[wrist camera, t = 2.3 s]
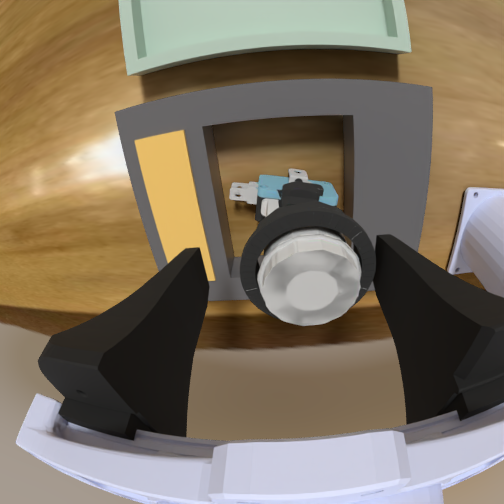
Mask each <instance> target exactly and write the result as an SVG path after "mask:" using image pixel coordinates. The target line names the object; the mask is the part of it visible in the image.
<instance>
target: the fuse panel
mask: <svg viewBox="0 0 504 504" xmlns="http://www.w3.org/2000/svg"><path fill="white" fill-rule="evenodd" d="M315 115H343V134H344V214H346V215H347V216H349V217H351V218H352V219H353V220H355V221H356V222H357V223H358V224H359V225H360V226H361V227H362V228H363V229H364V230H365V232H366V233H367V235H368V237H369V239H370V240H371V242H372V245H373V247H374V250H375V245H376V236H377V235H384V234H391V235H393V236H394V237H396V238H398V239H399V240H401V241H402V242H404V243H405V244H407V245H408V246H409V247H411V248H412V249H414V250H415V251H417V252H418V247H419V242H420V237H421V232H422V226H423V220H424V214H425V207H426V200H427V193H428V184H429V175H430V164H431V150H432V127H433V95H432V87H428V86H422V85H415V84H407V83H398V82H388V81H376V80H360V79H297V80H279V81H267V82H256V83H247V84H239V85H232V86H225V87H218V88H212V89H206V90H201V91H195V92H190V93H185V94H181V95H176V96H172V97H167V98H163V99H159V100H155V101H151V102H147V103H144V104H140V105H136V106H133V107H129V108H126V109H123V110H120V111H116V112H115V116H116V121H117V126H118V130H119V135H120V139H121V144H122V148H123V152H124V156H125V160H126V164H127V168H128V172H129V176H130V180H131V184H132V187H133V191H134V194H135V198H136V201H137V205H138V208H139V212H140V215H141V218H142V222H143V225H144V228H145V231H146V234H147V237H148V241H149V244H150V247H151V250H152V253H153V256H154V258H155V261H156V264H157V267H158V270H159V271H160V270H161V269H163V268H164V267H165V266H166V265H167V264H168V263H169V262H170V261H171V260H172V259H174V258H175V257H176V256H177V255H178V254H179V253H180V252H181V251H183V250H184V249H185V248H195V247H200V250H201V254H202V258H203V262H204V266H205V270H206V274H207V278H208V282H209V286H210V288H209V296H208V301H222V300H247V299H249V298H248V296H247V295H246V293H245V291H244V289H243V287H242V284H241V280H240V262H241V257H234V252H233V247H232V241H231V235H230V230H229V224H228V218H227V213H226V207H225V201H224V195H223V189H222V183H221V178H220V172H219V166H218V159H217V153H216V147H215V141H214V135H213V129H212V125H215V124H222V123H230V122H238V121H246V120H256V119H266V118H278V117H293V116H315ZM343 236H344V238H345V240H346V242H347V244H348V246H349V247H350V248H351V249H352V250H353V242H352V241H351V240H350V239H349V238H348V237H346V236H345V235H343ZM263 259H264V255H262V256H259V258H258V262H259V265H260V267H261V263H262V261H263ZM373 290H375V288H374V284H373V281H372V283H371V285H370V287H369V289H368V290H367V291H373Z"/></svg>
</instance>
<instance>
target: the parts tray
mask: <svg viewBox="0 0 504 504" xmlns="http://www.w3.org/2000/svg"><path fill="white" fill-rule="evenodd" d="M119 11H120V21H121V31H122V39H123V47H124V55H125V62H126V68H127V75H144V74H148V73H151V72H155V71H158V70H162V69H166V68H170V67H174V66H178V65H183V64H187V63H192V62H196V61H201V60H207V59H212V58H218V57H224V56H231V55H238V54H246V53H254V52H264V51H277V50H295V49H343V50H361V51H373V52H383V53H391V54H403V53H410V52H411V43H410V35H409V28H408V21H407V15H406V9H405V4H404V0H119Z"/></svg>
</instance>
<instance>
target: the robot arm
mask: <svg viewBox="0 0 504 504" xmlns="http://www.w3.org/2000/svg"><path fill="white" fill-rule="evenodd" d="M475 192H476V193H475ZM474 193H475V195H474ZM375 254H376V270H375V275H374V278H373V284H374V288H375V292H376V295H377V298H378V301H379V303H380V306H381V308H382V311H383V313H384V316H385V318H386V321H387V323H388V326H389V328H390V331H391V334H392V336H393V339H394V343H395V346H396V350H397V354H398V359H399V364H400V368H401V374H402V381H403V387H404V395H405V405H406V421H407V425H403V426H399V427H395V428H390V429H389V428H386V429H376V430H366V431H360V432H353V433H347V434H339V435H331V436H320V437H308V438H292V439H251V440H233V441H220V440H207V439H196V438H187V437H186V431H187V429H186V428H187V409H188V396H189V385H190V377H191V370H192V363H193V356H194V352H195V348H196V345H197V341H198V337H199V334H200V330H201V327H202V323H203V319H204V316H205V312H206V308H207V303H208V296H209V288H210V286H209V282H208V278H207V274H206V270H205V266H204V262H203V258H202V254H201V250H200V247H195V248H185V249H184V250H183V251H181V252H180V253H179V254H178V255H177V256H176V257H175V258H174V259H172V260H171V261H170V262H169V263H168V264H167V265H166V266H165V267H164V268H163V269H161V270H160V271H159V272H158V273H157V274H156V275H155V276H154V277H152V278H151V279H150V280H149V281H148V282H146V283H145V284H144V285H143V286H142V287H140V288H139V289H138V290H137V291H135V292H134V293H133V294H131V295H130V296H129V297H127V298H126V299H124V300H123V301H121V302H120V303H118V304H117V305H115V306H113V307H112V308H110V309H108V310H107V311H105V312H103V313H102V314H100V315H98V316H96V317H94V318H93V319H91V320H89V321H86V322H84V323H82V324H80V325H78V326H76V327H73V328H71V329H68V330H66V331H63V332H60V333H58V334H55V335H52V337H51V338H50V340H49V342H48V343H47V345H46V347H45V349H44V350H43V352H42V354H41V356H40V357H39V360H38V364H39V367H40V370H41V371H42V373H43V374H44V376H45V377H46V378H47V379H48V380H49V381H50V382H51V383H52V384H53V385H54V387H55V388H56V389H57V390H58V391H59V392H60V393H61V394H62V395H63V396H64V397H65V399H64V401H63V403H61V402H59V401H57V400H55V399H53V398H50V397H47V396H44V395H42V394H36V396H35V398H34V400H33V403H32V404H31V407H30V409H29V411H28V413H27V415H26V418H25V420H24V422H23V425H22V427H21V429H20V432H19V434H18V437H17V439H16V444H17V445H18V446H20V447H21V448H23V449H24V450H26V451H27V452H29V453H30V454H32V455H33V456H35V457H36V458H38V459H40V460H41V461H43V462H44V463H46V464H48V465H50V466H51V467H53V468H55V469H57V470H59V471H61V472H63V473H65V474H67V475H69V476H71V477H73V478H76V479H78V480H80V481H82V482H85V483H87V484H90V485H92V486H94V487H97V488H99V489H102V490H105V491H107V492H110V493H113V494H116V495H118V496H121V497H124V498H127V499H131V500H134V501H137V502H141V503H144V504H444V501H443V494H442V489H445V488H447V487H450V486H452V485H455V484H457V483H459V482H461V481H464V480H466V479H468V478H470V477H472V476H474V475H476V474H478V473H480V472H482V471H484V470H486V469H488V468H490V467H491V466H493V465H495V464H497V463H499V462H500V461H502V460H504V189H496V188H478V187H469V188H467V189H466V191H465V194H464V200H463V206H462V211H461V216H460V221H459V225H458V230H457V234H456V238H455V242H454V246H453V250H452V254H451V257H450V261H449V264H448V268H447V271H445V270H444V269H442V268H440V267H439V266H437V265H436V264H434V263H433V262H431V261H430V260H428V259H427V258H425V257H424V256H422V255H421V254H419V253H418V252H417V251H415V250H414V249H412V248H411V247H409V246H408V245H407V244H405V243H404V242H402V241H401V240H399V239H398V238H396V237H394V236H393V235H391V234H384V235H377V236H376V245H375ZM456 268H457V269H456ZM469 272H473V273H474V274H475V275H476V277H477V278H478V279H479V281H480V282H481V283H482V285H483V286H484V288H485V289H486V290H487V291H485V290H482V289H480V288H478V287H476V286H473V285H471V284H469V283H467V282H465V281H463V280H461V279H459V278H458V277H456V276H454V274H461V273H469Z"/></svg>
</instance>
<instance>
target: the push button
mask: <svg viewBox="0 0 504 504" xmlns="http://www.w3.org/2000/svg"><path fill="white" fill-rule="evenodd" d="M288 171H289V175H290V177H280V176H271V175H260V176H259V182H249V184H246V183H234V182H233V183H232V187H231V188H230V199H231V200H240V201H247V203H248V204H256V214H255V220H256V221H259V222H260V223H259V224H258V227H257V229H256V231H255V232H254V233H253V234H252V235H251V237H250V238H249V240H248V241H247V243H246V245H245V247H244V250H243V253H242V256H241V262H240V280H241V284H242V287H243V289H244V291H245V293H246V295H247V296H248V298H249V299H250V301H251V302H252V303H253V304H254V305H255V306H256V307H258V308H259V309H260V310H262V311H263V312H265V313H266V314H268V315H270V316H272V317H274V318H277V319H280V320H283V321H284V322H288V323H293V324H297V325H301V326H307V325H318V324H324V323H327V322H329V321H331V320H333V319H335V318H338V317H340V316H341V315H343V314H344V313H346V312H347V310H348V309H350V308H351V307H352V306H354V305H355V304H356V303H357V302H358V301H359V300H360V299H361V298H362V297H363V296H364V295H365V293H366V292H367V290H368V289H369V287H370V285H371V283H372V281H373V278H374V275H375V270H376V254H375V250H374V247H373V245H372V242H371V240H370V239H369V237H368V235H367V233H366V232H365V230H364V229H363V228H362V227H361V226H360V225H359V224H358V223H357V222H356V221H355V220H353V219H352V218H351V217H349V216H347V215H346V214H344V213H343V212H342V210H341V209H339V208H337V207H336V206H337V201H338V195H337V193H336V191H335V189H334V188H333V185H332V184H331V183H329V182H323V181H321V182H320V181H312V180H308V177H307V173H306V171H304V170H298V169H288ZM296 172H300V173H296ZM238 186H241V187H242V188H237V187H238ZM235 195H241V196H240V197H236V196H235ZM343 235H345V236H346V237H348V238H349V239H350V240H351V241H352V242H353V250H352V249H351V248H350V247H349V246H348V244H347V242H346V240H345V238H344V236H343ZM263 250H264V259H263V261H262V263H261V267H260V265H259V262H258V258H259V256H260V254H261V252H262V251H263Z"/></svg>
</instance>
